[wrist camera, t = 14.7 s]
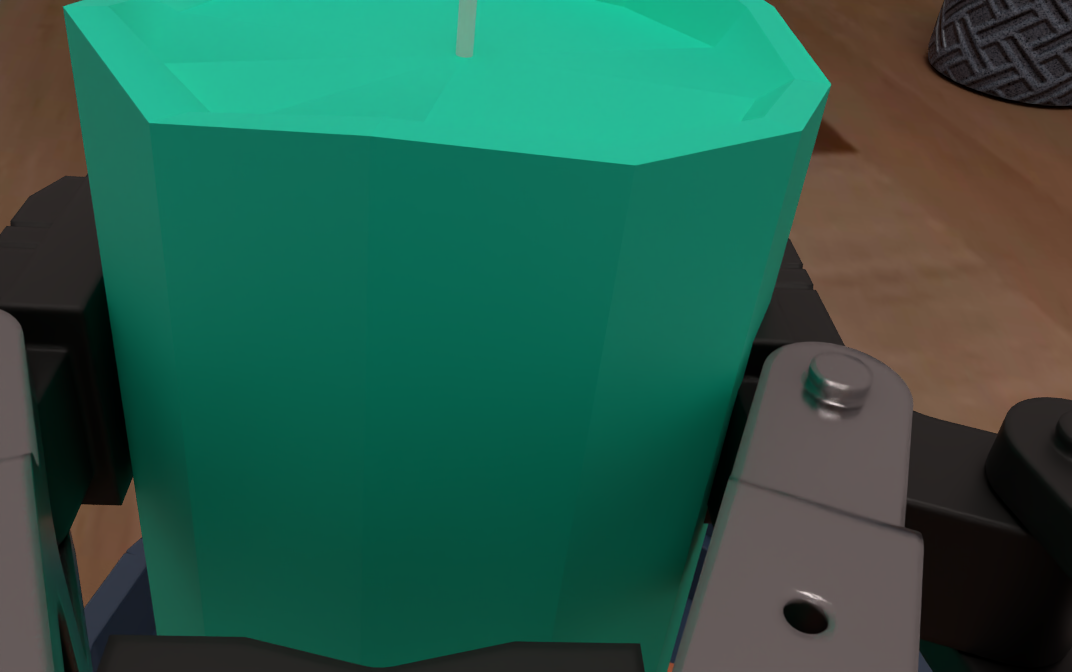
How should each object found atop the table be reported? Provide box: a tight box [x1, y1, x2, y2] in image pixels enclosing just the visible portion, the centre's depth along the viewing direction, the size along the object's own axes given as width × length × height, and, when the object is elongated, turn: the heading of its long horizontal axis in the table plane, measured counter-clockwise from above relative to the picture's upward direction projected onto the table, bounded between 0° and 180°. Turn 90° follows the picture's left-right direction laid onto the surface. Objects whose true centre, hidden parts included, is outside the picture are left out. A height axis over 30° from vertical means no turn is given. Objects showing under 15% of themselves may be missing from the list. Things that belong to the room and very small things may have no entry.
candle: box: [63, 0, 831, 672], centre depth 11 cm, size 6×6×12 cm
